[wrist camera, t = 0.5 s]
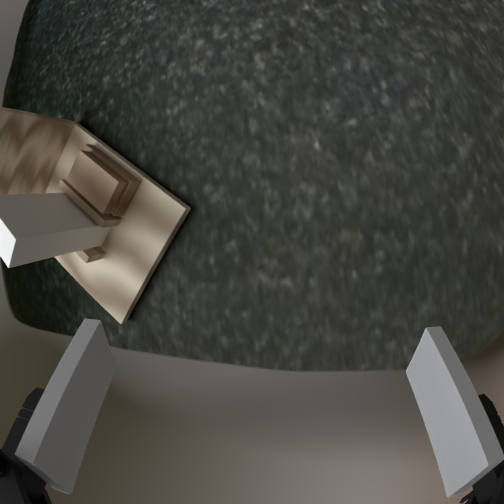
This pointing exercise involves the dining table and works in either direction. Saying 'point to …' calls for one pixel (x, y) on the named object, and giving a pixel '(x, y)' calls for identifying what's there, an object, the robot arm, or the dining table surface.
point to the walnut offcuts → (102, 181)
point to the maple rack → (91, 206)
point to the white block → (44, 227)
